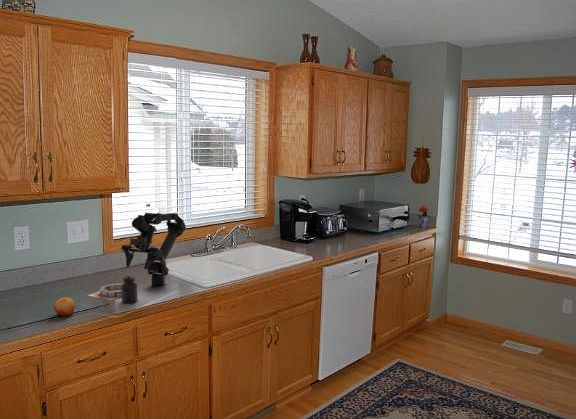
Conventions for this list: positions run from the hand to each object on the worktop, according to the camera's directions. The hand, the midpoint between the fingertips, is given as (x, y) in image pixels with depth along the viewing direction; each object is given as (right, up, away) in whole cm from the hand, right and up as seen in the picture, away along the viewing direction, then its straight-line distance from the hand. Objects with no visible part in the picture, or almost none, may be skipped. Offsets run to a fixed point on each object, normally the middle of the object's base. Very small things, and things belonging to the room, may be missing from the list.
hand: (136, 268), depth 233 cm
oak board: (-12, -13, +7) cm, 19 cm away
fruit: (-23, -17, -21) cm, 36 cm away
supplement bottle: (-1, -15, -5) cm, 16 cm away
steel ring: (-12, -12, +6) cm, 18 cm away
